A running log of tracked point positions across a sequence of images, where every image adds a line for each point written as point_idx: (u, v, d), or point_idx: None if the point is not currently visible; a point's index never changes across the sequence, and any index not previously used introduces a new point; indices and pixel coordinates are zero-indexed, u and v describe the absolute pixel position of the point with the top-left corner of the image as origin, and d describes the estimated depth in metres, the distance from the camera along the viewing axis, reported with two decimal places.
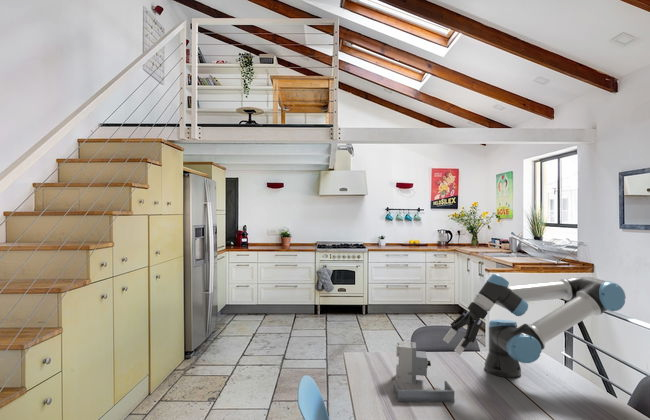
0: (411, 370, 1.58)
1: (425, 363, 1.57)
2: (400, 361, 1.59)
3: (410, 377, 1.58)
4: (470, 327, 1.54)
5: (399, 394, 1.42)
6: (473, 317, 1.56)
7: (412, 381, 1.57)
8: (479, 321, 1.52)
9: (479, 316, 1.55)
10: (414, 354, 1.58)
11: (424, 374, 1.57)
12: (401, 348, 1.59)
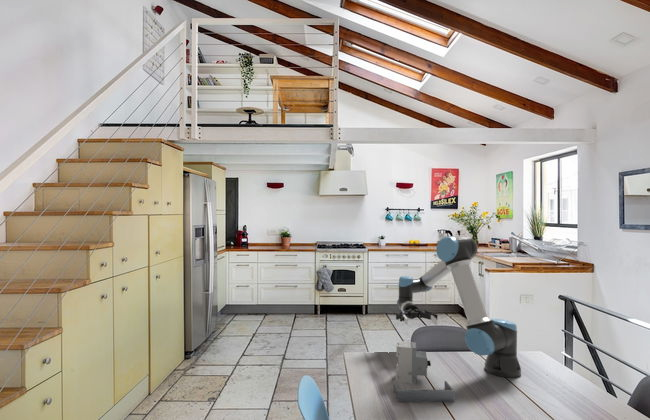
0: (411, 370, 1.58)
1: (425, 363, 1.57)
2: (400, 361, 1.59)
3: (410, 377, 1.58)
4: None
5: (399, 394, 1.42)
6: None
7: (412, 381, 1.57)
8: None
9: (404, 311, 1.92)
10: (414, 354, 1.58)
11: (424, 374, 1.57)
12: (401, 348, 1.59)
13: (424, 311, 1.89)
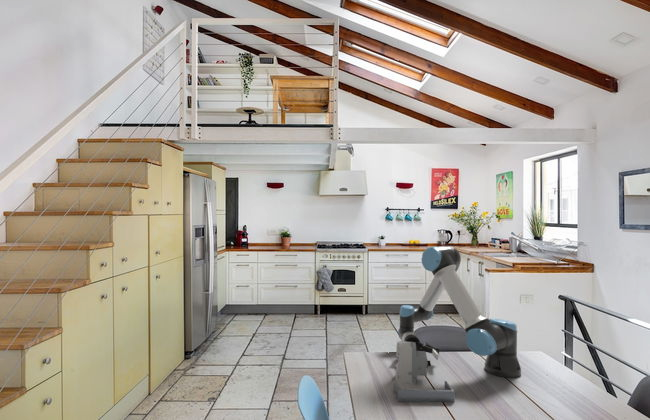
0: (411, 370, 1.58)
1: (425, 363, 1.57)
2: (400, 361, 1.59)
3: (410, 377, 1.58)
4: None
5: (399, 394, 1.42)
6: None
7: (412, 381, 1.57)
8: None
9: None
10: (414, 354, 1.58)
11: (424, 374, 1.57)
12: (401, 348, 1.59)
13: (425, 344, 1.86)
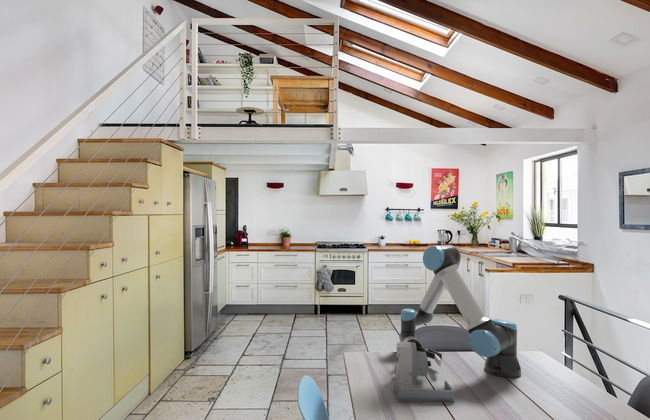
0: (411, 370, 1.57)
1: (425, 363, 1.56)
2: (400, 362, 1.58)
3: (410, 378, 1.57)
4: None
5: (399, 394, 1.42)
6: None
7: (412, 382, 1.57)
8: None
9: None
10: (414, 354, 1.57)
11: (424, 374, 1.56)
12: (401, 348, 1.58)
13: (428, 349, 1.80)
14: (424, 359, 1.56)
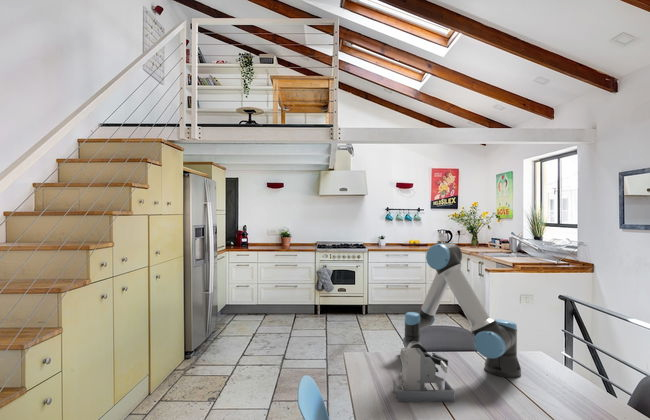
0: (419, 378, 1.50)
1: (434, 370, 1.50)
2: (408, 370, 1.50)
3: (418, 386, 1.50)
4: None
5: (399, 394, 1.42)
6: None
7: None
8: None
9: None
10: (422, 361, 1.50)
11: (433, 381, 1.50)
12: (409, 356, 1.50)
13: (433, 354, 1.72)
14: (432, 365, 1.50)
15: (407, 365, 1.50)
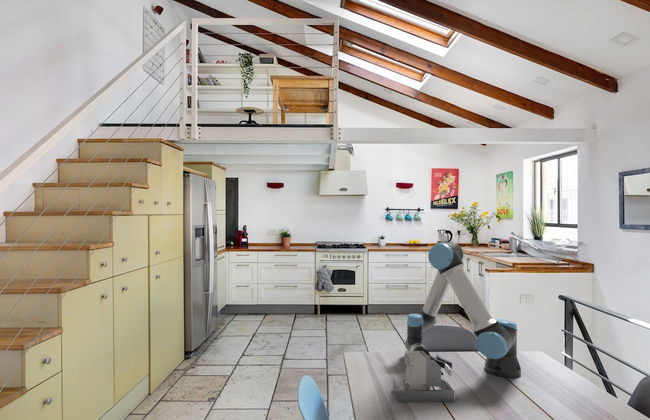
0: (425, 382, 1.46)
1: (439, 373, 1.47)
2: (414, 373, 1.46)
3: (424, 389, 1.46)
4: None
5: (399, 394, 1.42)
6: None
7: None
8: None
9: None
10: (428, 364, 1.47)
11: (438, 385, 1.47)
12: (415, 359, 1.46)
13: (436, 357, 1.69)
14: (438, 368, 1.47)
15: (413, 369, 1.46)
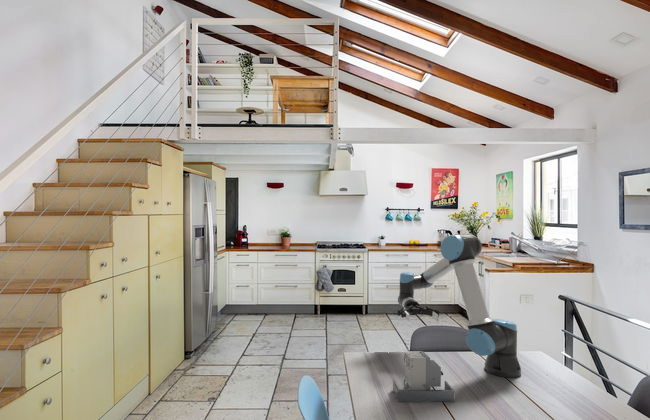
0: (425, 382, 1.46)
1: (439, 373, 1.47)
2: (413, 374, 1.46)
3: None
4: None
5: (399, 394, 1.42)
6: None
7: None
8: None
9: (405, 307, 1.90)
10: (428, 364, 1.47)
11: (438, 385, 1.47)
12: (415, 359, 1.46)
13: (425, 307, 1.87)
14: (438, 368, 1.47)
15: (412, 369, 1.46)
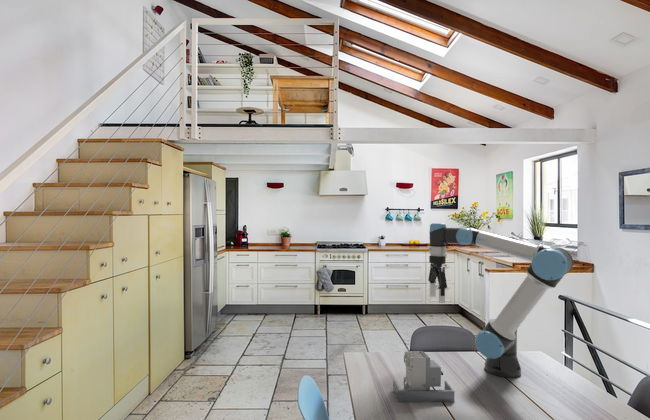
0: (425, 382, 1.46)
1: (439, 373, 1.47)
2: (413, 374, 1.46)
3: None
4: (439, 276, 1.75)
5: (399, 394, 1.42)
6: (437, 267, 1.77)
7: None
8: (441, 268, 1.73)
9: (440, 264, 1.77)
10: (428, 364, 1.47)
11: (438, 385, 1.47)
12: (415, 359, 1.46)
13: None
14: (438, 368, 1.47)
15: (412, 369, 1.46)
